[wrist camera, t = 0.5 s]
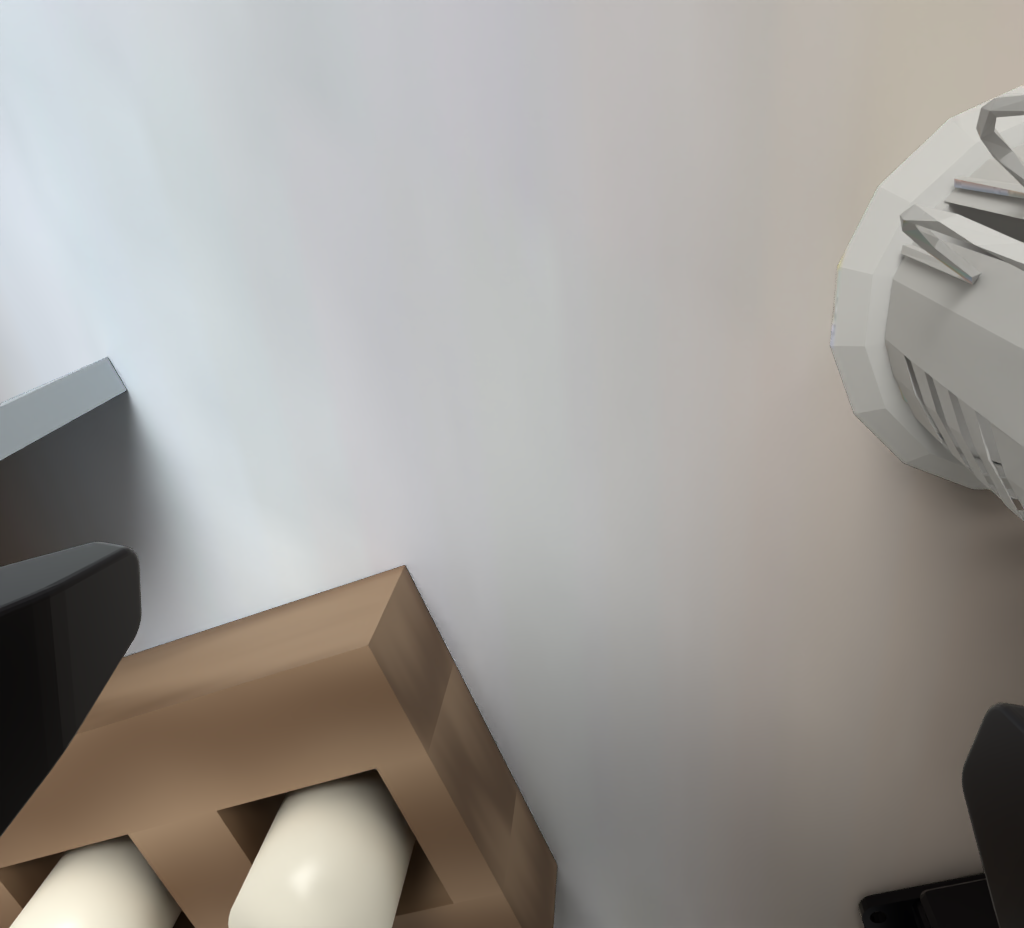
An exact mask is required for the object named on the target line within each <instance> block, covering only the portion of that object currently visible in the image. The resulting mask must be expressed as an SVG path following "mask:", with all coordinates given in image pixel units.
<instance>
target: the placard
mask: <svg viewBox="0 0 1024 928" xmlns="http://www.w3.org/2000/svg"><path fill="white" fill-rule="evenodd" d="M124 391H126V388H125V386H124V385H123V383H122V381H121V379H120V378H119V376H118V374H117V373H116V371H115V369H114V368H113V366H112V364H111V362H110V361H109V359H108V357H106V358H104V359H101V360H99V361H97V362H95V363H92V364H90V365H88V366H85V367H83V368H81V369H78V370H76V371H74V372H72V373H69V374H67V375H65V376H62V377H60V378H58V379H55V380H53V381H51V382H49V383H46V384H44V385H42V386H39V387H37V388H35V389H32V390H30V391H28V392H26V393H23V394H21V395H19V396H16V397H14V398H12V399H9V400H7V401H5V402H3V403H0V460H2V459H4V458H6V457H8V456H9V455H11V454H13V453H15V452H17V451H18V450H20V449H22V448H24V447H26V446H27V445H29V444H31V443H33V442H35V441H36V440H38V439H40V438H42V437H44V436H45V435H47V434H49V433H51V432H53V431H54V430H56V429H58V428H60V427H62V426H63V425H65V424H67V423H69V422H70V421H72V420H74V419H76V418H78V417H79V416H81V415H83V414H85V413H87V412H88V411H90V410H92V409H94V408H96V407H97V406H99V405H101V404H103V403H105V402H106V401H108V400H110V399H112V398H114V397H115V396H117V395H119V394H121V393H123V392H124Z"/></svg>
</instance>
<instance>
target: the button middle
mask: <svg viewBox="0 0 1024 928" xmlns="http://www.w3.org/2000/svg"><path fill="white" fill-rule="evenodd" d="M181 911H182V909H181V908H180V906H179V905H178V903H177V902H176V901H175V899H174V898H173V896H172V895H171V894H170V892H169V891H168V889H167V888H166V887H165V885H164V884H163V883H162V881H161V880H160V878H159V877H158V876H157V874H156V873H155V871H154V870H153V869H152V867H151V866H150V864H149V863H148V862H147V860H146V859H145V857H144V856H143V855H142V853H141V852H140V851H139V849H138V848H137V846H136V845H135V844H134V842H133V841H132V839H131V838H130V837H129V835H128V834H127V835H123V836H120V837H116V838H112V839H108V840H104V841H101V842H97V843H93V844H89V845H86V846H82V847H78V848H74V849H71V850H67V851H66V852H65V853H64V855H63V856H62V857H61V859H60V860H59V862H58V863H57V864H56V866H55V867H54V868H53V870H52V871H51V872H50V874H49V875H48V876H47V878H46V879H45V880H44V882H43V883H42V884H41V886H40V887H39V888H38V890H37V891H36V892H35V894H34V895H33V897H32V898H31V899H30V901H29V902H28V903H27V905H26V906H25V907H24V909H23V910H22V911H21V913H20V914H19V915H18V917H17V918H16V919H15V921H14V922H13V923H12V925H11V926H10V927H9V928H173V926H174V924H175V922H176V920H177V918H178V917H179V915H180V913H181Z"/></svg>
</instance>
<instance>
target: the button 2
mask: <svg viewBox="0 0 1024 928" xmlns="http://www.w3.org/2000/svg"><path fill="white" fill-rule="evenodd" d="M415 840H416V837H415V835H414V833H413V832H412V830H411V828H410V826H409V825H408V823H407V821H406V819H405V818H404V816H403V814H402V812H401V811H400V809H399V807H398V805H397V804H396V802H395V800H394V798H393V797H392V795H391V793H390V791H389V790H388V788H387V786H386V784H385V783H384V781H383V779H382V778H381V776H380V774H379V772H378V771H377V770H375V769H372V770H368V771H364V772H361V773H357V774H353V775H349V776H345V777H342V778H338V779H334V780H330V781H327V782H323V783H319V784H315V785H312V786H308V787H304V788H300V789H297V790H293V791H289V792H287V794H286V796H285V798H284V800H283V802H282V804H281V806H280V808H279V810H278V812H277V814H276V817H275V819H274V821H273V823H272V825H271V827H270V829H269V831H268V833H267V835H266V837H265V840H264V842H263V844H262V846H261V848H260V850H259V852H258V854H257V856H256V858H255V860H254V863H253V865H252V867H251V869H250V871H249V873H248V875H247V877H246V879H245V881H244V883H243V885H242V888H241V890H240V892H239V894H238V896H237V898H236V900H235V902H234V904H233V906H232V908H231V911H230V915H229V921H228V927H229V928H392V925H393V922H394V918H395V914H396V911H397V907H398V903H399V899H400V896H401V892H402V888H403V884H404V881H405V877H406V873H407V869H408V866H409V862H410V858H411V854H412V851H413V847H414V843H415Z"/></svg>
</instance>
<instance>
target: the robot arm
mask: <svg viewBox="0 0 1024 928" xmlns="http://www.w3.org/2000/svg"><path fill="white" fill-rule="evenodd" d="M140 621H141V592H140V568H139V559H138V556H137V553H136V552H135V551H134V550H133V549H132V548H130V547H127V546H122V545H116V544H110V543H105V542H92V543H88V544H84V545H80V546H77V547H73V548H69V549H65V550H62V551H58V552H54V553H50V554H47V555H43V556H39V557H36V558H32V559H28V560H24V561H21V562H17V563H13V564H9V565H6V566H2V567H0V837H1V836H2V835H3V833H4V832H5V831H6V829H7V828H8V827H9V825H10V824H11V823H12V821H13V820H14V819H15V817H16V816H17V815H18V813H19V812H20V811H21V810H22V808H23V807H24V806H25V804H26V803H27V802H28V800H29V799H30V798H31V796H32V795H33V794H34V792H35V791H36V790H37V789H38V787H39V786H40V785H41V783H42V782H43V781H44V779H45V778H46V777H47V775H48V774H49V773H50V771H51V770H52V769H53V767H54V766H55V764H56V763H57V762H58V760H59V759H60V758H61V756H62V755H63V753H64V752H65V750H66V749H67V747H68V746H69V744H70V743H71V741H72V740H73V738H74V737H75V735H76V734H77V732H78V730H79V729H80V727H81V725H82V724H83V722H84V720H85V719H86V717H87V715H88V714H89V712H90V710H91V709H92V707H93V706H94V704H95V702H96V701H97V699H98V697H99V696H100V694H101V692H102V691H103V689H104V687H105V686H106V684H107V682H108V681H109V679H110V678H111V676H112V674H113V673H114V671H115V669H116V668H117V666H118V664H119V663H120V661H121V659H122V658H123V656H124V654H125V653H126V651H127V649H128V648H129V646H130V645H131V643H132V641H133V640H134V638H135V636H136V634H137V631H138V629H139V625H140ZM962 787H963V792H964V796H965V800H966V804H967V808H968V812H969V815H970V819H971V823H972V827H973V831H974V834H975V838H976V842H977V846H978V850H979V854H980V857H981V861H982V865H983V869H984V874H979V875H974V876H969V877H964V878H958V879H953V880H948V881H943V882H938V883H933V884H927V885H922V886H917V887H912V888H907V889H902V890H897V891H891V892H886V893H881V894H876V895H871V896H868V897H865V898H864V899H862V900H861V901H860V903H859V912H860V915H861V918H862V921H863V924H864V927H865V928H1024V706H1020V705H1014V704H1008V703H998V704H995V705H993V706H992V707H991V708H990V709H989V710H988V711H987V713H986V715H985V717H984V719H983V721H982V724H981V726H980V728H979V731H978V733H977V735H976V738H975V740H974V742H973V745H972V747H971V749H970V752H969V754H968V756H967V759H966V761H965V764H964V767H963V772H962Z"/></svg>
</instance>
